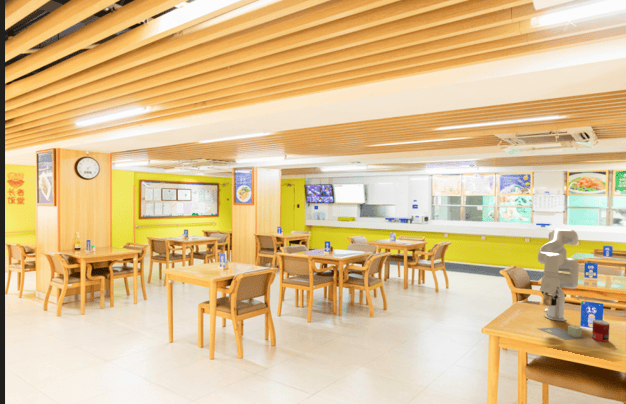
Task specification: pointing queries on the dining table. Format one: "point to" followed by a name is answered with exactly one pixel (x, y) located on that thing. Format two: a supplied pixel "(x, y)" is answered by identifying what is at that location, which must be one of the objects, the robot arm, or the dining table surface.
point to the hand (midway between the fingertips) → (549, 303)
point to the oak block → (548, 300)
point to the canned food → (600, 330)
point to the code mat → (559, 333)
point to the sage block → (575, 331)
